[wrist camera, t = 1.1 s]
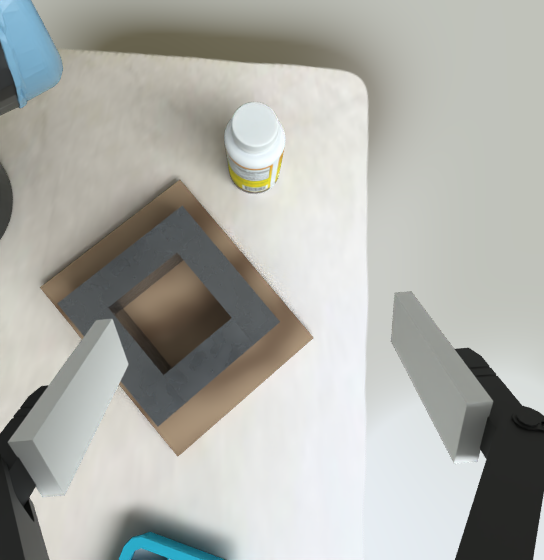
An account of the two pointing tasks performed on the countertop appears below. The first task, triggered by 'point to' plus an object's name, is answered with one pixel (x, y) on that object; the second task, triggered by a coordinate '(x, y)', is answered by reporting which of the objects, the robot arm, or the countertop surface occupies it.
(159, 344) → the brown base board
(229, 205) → the countertop surface
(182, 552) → the ice cube tray
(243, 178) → the supplement bottle
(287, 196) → the countertop surface
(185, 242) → the square socket
